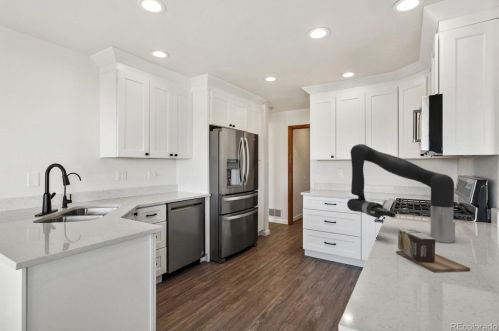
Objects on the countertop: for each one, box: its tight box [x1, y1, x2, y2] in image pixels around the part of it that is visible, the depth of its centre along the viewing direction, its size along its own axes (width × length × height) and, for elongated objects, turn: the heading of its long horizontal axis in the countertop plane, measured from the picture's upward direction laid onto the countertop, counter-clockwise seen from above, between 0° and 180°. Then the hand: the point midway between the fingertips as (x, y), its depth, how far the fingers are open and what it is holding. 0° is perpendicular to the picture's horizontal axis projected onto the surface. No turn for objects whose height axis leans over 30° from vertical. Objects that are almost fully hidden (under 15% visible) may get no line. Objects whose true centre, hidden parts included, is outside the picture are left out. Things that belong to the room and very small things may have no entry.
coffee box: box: [397, 227, 436, 263], centre depth 106 cm, size 9×6×16 cm
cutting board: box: [395, 250, 471, 273], centre depth 102 cm, size 14×20×1 cm
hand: (393, 215), depth 124 cm, fingers closed
